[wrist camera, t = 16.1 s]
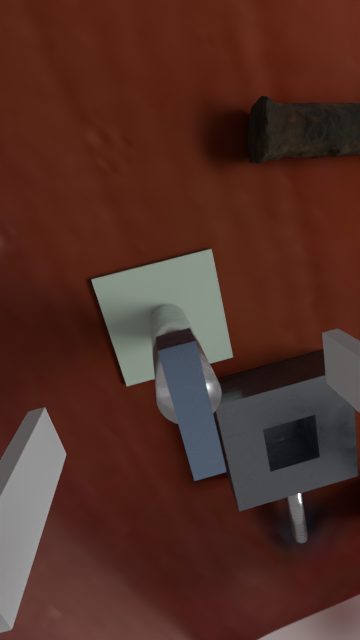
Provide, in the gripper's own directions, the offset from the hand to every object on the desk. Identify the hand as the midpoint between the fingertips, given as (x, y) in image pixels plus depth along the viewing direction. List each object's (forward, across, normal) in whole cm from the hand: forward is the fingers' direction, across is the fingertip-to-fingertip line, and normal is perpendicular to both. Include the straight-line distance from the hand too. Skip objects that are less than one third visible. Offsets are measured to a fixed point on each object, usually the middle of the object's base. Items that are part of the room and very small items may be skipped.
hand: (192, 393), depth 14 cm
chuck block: (+13, +8, -18) cm, 23 cm away
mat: (+13, 0, -1) cm, 13 cm away
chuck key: (+13, 0, -1) cm, 13 cm away
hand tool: (+14, +18, +10) cm, 25 cm away
